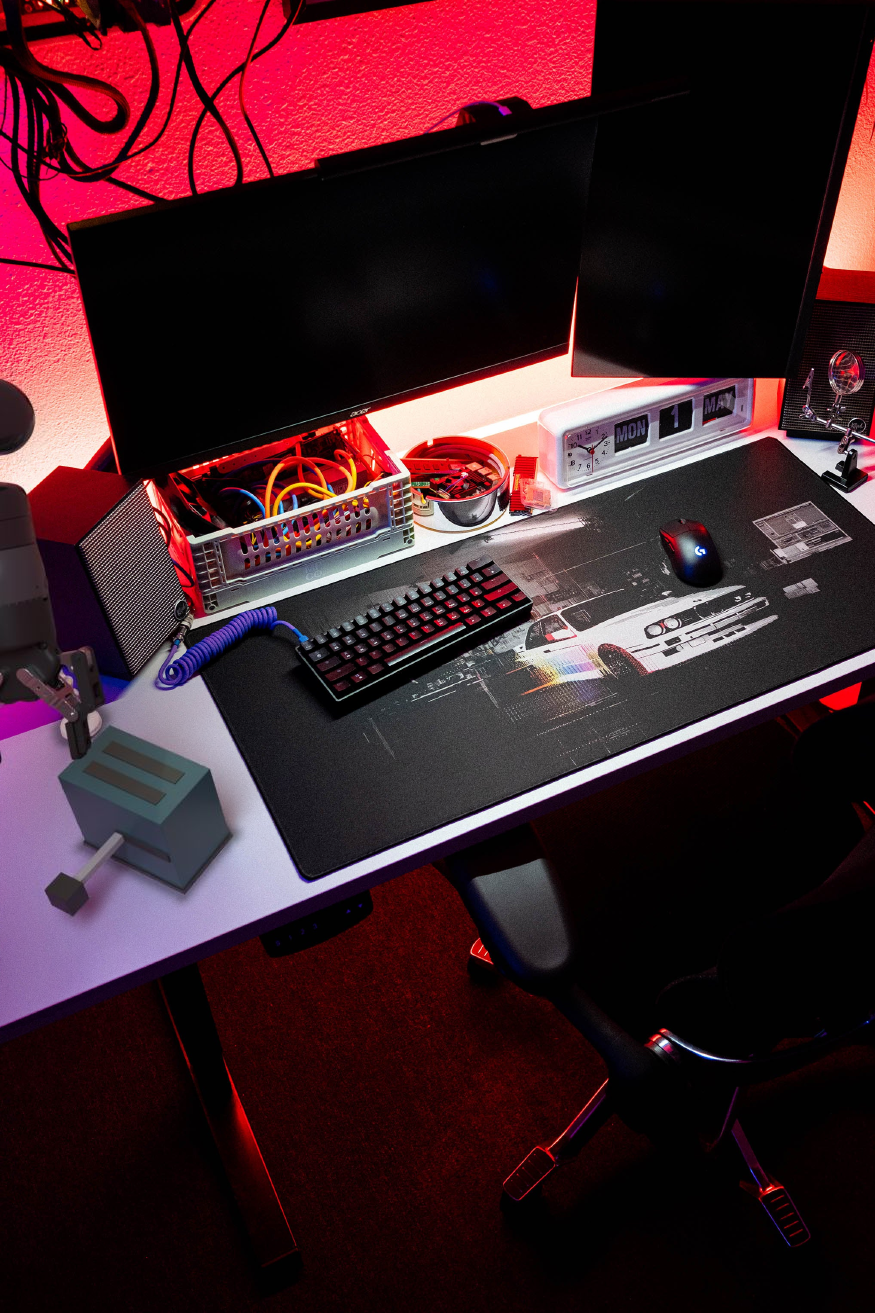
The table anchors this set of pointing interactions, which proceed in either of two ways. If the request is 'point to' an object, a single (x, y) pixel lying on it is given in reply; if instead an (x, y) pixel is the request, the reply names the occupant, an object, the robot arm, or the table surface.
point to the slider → (79, 880)
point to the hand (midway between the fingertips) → (36, 762)
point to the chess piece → (92, 718)
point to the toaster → (147, 807)
